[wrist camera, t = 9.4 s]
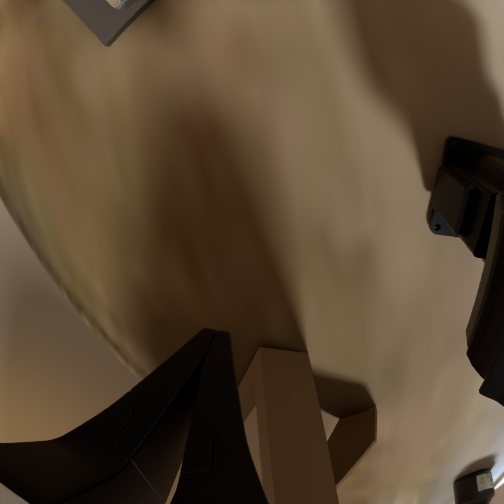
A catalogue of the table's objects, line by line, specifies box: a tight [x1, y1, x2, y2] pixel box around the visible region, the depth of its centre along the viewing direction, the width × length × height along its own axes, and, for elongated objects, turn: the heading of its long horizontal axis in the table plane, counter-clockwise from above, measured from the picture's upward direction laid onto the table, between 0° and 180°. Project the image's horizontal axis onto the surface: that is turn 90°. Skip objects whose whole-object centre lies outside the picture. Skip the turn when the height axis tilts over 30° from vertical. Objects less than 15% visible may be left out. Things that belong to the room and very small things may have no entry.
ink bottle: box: [453, 470, 495, 504], centre depth 35 cm, size 10×9×12 cm
